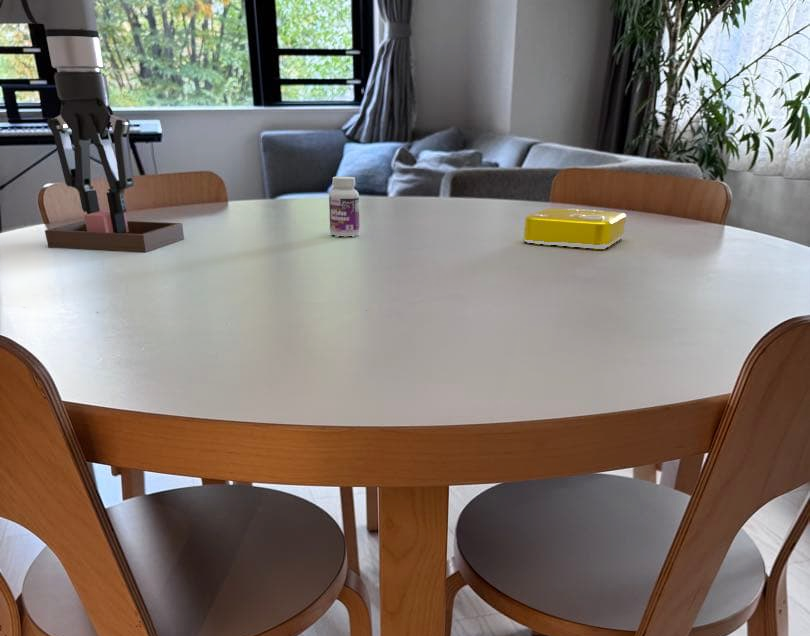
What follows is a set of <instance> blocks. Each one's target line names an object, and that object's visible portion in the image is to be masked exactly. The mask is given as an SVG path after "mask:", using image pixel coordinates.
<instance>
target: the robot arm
mask: <svg viewBox="0 0 810 636" xmlns="http://www.w3.org/2000/svg"><path fill="white" fill-rule="evenodd" d="M94 4H95V3H94V0H0V24H3V25H8V24H9V25H14V24H15V25H16V24H19V25H21V24H23V25H24V24H26V25H27V24H34V25H40V24H42V25H43V27H44V30H45V37H46V42H47V47H48V52H49V53H48V54H49V58H50V63H51V67H52V68H53V69H56V71H57V72H55V73H54V75H53V77H54V83H55V88H56V93H57V97H58V99H59V101H60V104H61V105H60V106H61V108H60V114H59V115H57V116H55V117H54V118H47V120H46V124H47V126H48V128H49V130H50V131H51V133H52V136H53V137H54V142H55V147H56V150H57V154H58V155H57V156H58V158H59V162H60V163H59V164H60V166H61V167H60V168H61V170H62V174H63V178H64V183H65V185H66V186H67V187H71V188H74V189H76V190H77V192H78V194H79V201H80V204H81V209H82V211H83V212H84V213H86V214H91V213H95V212H99V211H101V209H100V204H99V199H98V194H97V193H98V192H97V190H96V189H94V185H92V179H91V177H92V176H91V175H92V174H91V173H92V172H91V150H90V146H91V144H92V143H93V146H95V147H96V150H97V153H98V156H99V159H100V162H101V166H102V168H103V171H104V174H105V177H106V180H107V183H108V187H109V188H108V189H107V191H108V192H106V197H107V204H108V210H110V215H111V221H112V226H113V232H114V233H126V227H125V221H124V215H123V213H124V212H126V213H127V209H128V208H127V203H126V198H125V190H127V189H129V188H132V187H133V186H134V184H135V183H134V174H133V165H132V156H131V155H132V154H131V147H130V146H131V145H130V138H129V137H130V130H131V124H132V123H131V121H130V120H129V118H128V119H127V118H121V117H119V116H117V115H115V114H114V111H113V109H112V108H111V106H110V93H109V88H108V81H107V76H106V75H105V73H102V70H103V69H104V67H105V66H104V58H103V51H102V47H101V40H100V36H99V30H98V23H97V16H96V10H95V5H94ZM110 128H111V130H112V131H113V140H112V138H111V135H110ZM68 129H70V131H71V137H70V133H69V131H68ZM113 143H114V149H113V146H112V145H113ZM114 151H115V152H114Z"/></svg>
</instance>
